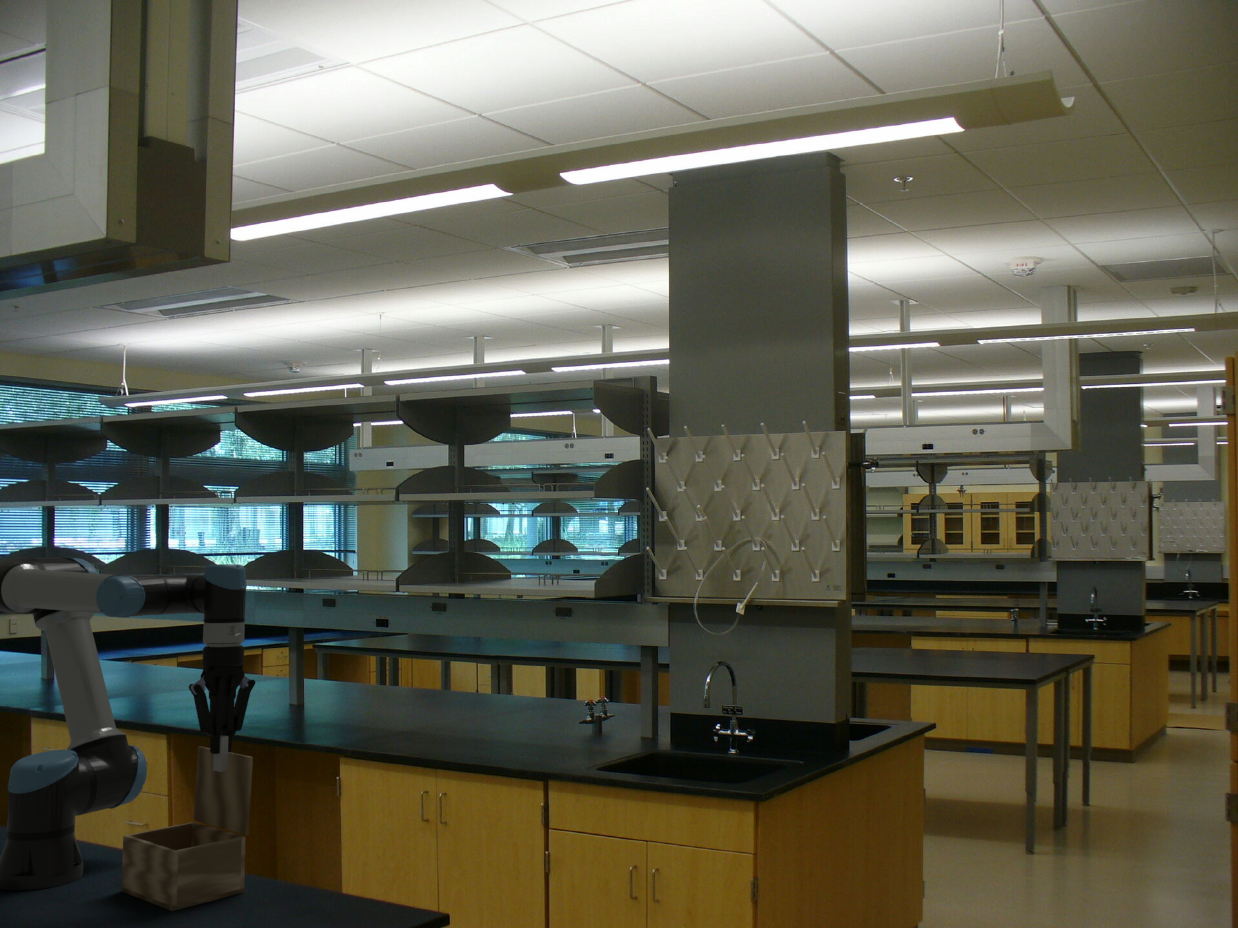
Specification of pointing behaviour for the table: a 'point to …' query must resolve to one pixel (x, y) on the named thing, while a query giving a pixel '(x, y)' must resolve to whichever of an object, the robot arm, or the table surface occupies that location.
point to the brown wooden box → (183, 865)
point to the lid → (223, 792)
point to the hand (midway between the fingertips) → (220, 770)
